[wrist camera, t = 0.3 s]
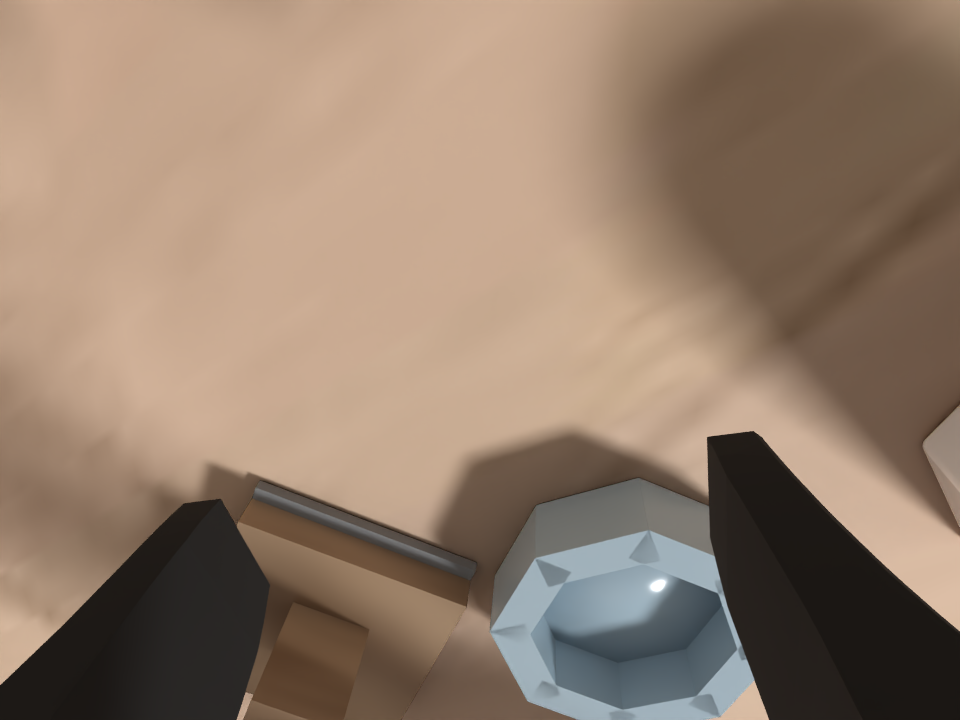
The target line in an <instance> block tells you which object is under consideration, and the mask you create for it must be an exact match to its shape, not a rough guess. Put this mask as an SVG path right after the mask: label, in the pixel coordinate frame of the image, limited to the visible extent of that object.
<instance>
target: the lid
mask: <svg viewBox="0 0 960 720" xmlns="http://www.w3.org/2000/svg"><path fill="white" fill-rule="evenodd" d="M237 528H238V530H239V532H240V533H241V535H242V537H243V539H244V540H245V542H246V544H247V546H248V547H249V549H250V551H251V553H252V554H253V556H254V558H255V560H256V561H257V563H258V565H259V566H260V568H261V570H262V572H263V573H264V575H265V577H266V579H267V580H268V582H269V584H270V588H269V595H268V601H267V607H266V613H265V619H264V624H263V629H262V634H261V639H260V644H259V649H258V653H257V656H256V659H255V663H254V666H253V669H252V673H251V676H250V679H249V682H248V685H247V688H246V692H248V693H251V694H254V695H253V697H252V700H251V702H250V704H249V707H248V709H247V712H246V714H245V717H244V719H243V720H401V719H402V718H403V716H404V714H405V713H406V711H407V709H408V707H409V706H410V704H411V702H412V700H413V699H414V697H415V695H416V694H417V692H418V690H419V688H420V687H421V685H422V683H423V682H424V680H425V678H426V676H427V675H428V673H429V671H430V669H431V668H432V666H433V664H434V663H435V661H436V659H437V657H438V656H439V654H440V652H441V650H442V649H443V647H444V645H445V644H446V642H447V640H448V638H449V637H450V635H451V633H452V631H453V630H454V628H455V626H456V625H457V623H458V621H459V619H460V618H461V616H462V614H463V612H464V611H465V609H466V607H467V601H468V594H469V586H470V580H467V579H465V578H462V577H459V576H457V575H454V574H451V573H449V572H446V571H444V570H441V569H438V568H436V567H433V566H430V565H428V564H425V563H422V562H420V561H417V560H414V559H412V558H409V557H406V556H404V555H401V554H398V553H396V552H393V551H390V550H388V549H385V548H383V547H380V546H377V545H375V544H372V543H369V542H367V541H364V540H361V539H359V538H356V537H353V536H351V535H348V534H345V533H343V532H340V531H337V530H335V529H332V528H330V527H327V526H324V525H322V524H319V523H316V522H314V521H311V520H308V519H306V518H303V517H300V516H298V515H295V514H292V513H290V512H287V511H284V510H282V509H279V508H277V507H274V506H271V505H269V504H266V503H263V502H261V501H258V500H255V499H253V498H252V499H251V501H250V503H249V504H248V506H247V508H246V509H245V511H244V513H243V514H242V516H241V518H240V519H239V521H238V523H237Z"/></svg>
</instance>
